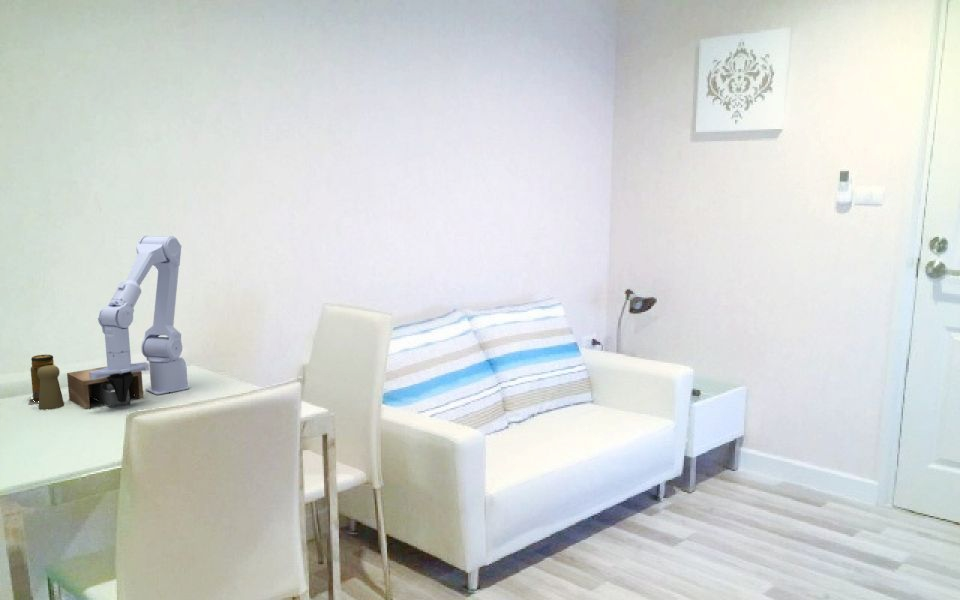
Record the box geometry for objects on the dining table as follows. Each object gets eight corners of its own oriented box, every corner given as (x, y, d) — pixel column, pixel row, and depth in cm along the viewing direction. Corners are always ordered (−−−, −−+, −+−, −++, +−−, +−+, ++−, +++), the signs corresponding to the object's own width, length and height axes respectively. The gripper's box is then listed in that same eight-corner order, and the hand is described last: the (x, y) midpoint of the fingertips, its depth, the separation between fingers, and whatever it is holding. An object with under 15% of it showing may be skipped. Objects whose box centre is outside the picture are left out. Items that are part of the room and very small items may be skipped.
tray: (110, 394, 219) (109, 376, 219) (130, 403, 210) (128, 385, 209) (92, 397, 216) (90, 379, 215) (110, 407, 206) (109, 388, 205)
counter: (125, 389, 224) (123, 363, 223) (143, 397, 215) (141, 371, 214) (69, 399, 214) (66, 373, 213) (85, 409, 205) (83, 381, 204)
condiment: (60, 394, 220) (56, 352, 218) (59, 401, 213) (55, 358, 211) (31, 397, 217) (26, 355, 215) (28, 405, 209) (24, 361, 208)
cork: (53, 410, 204) (49, 369, 203) (33, 409, 205) (29, 368, 204) (69, 403, 210) (66, 364, 208) (50, 402, 211) (46, 363, 210)
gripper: (94, 357, 196) (98, 409, 199) (152, 349, 207) (155, 398, 209) (84, 353, 201) (89, 404, 203) (141, 345, 212) (144, 393, 214)
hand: (122, 401), depth 206 cm, fingers closed, pressing on tray
